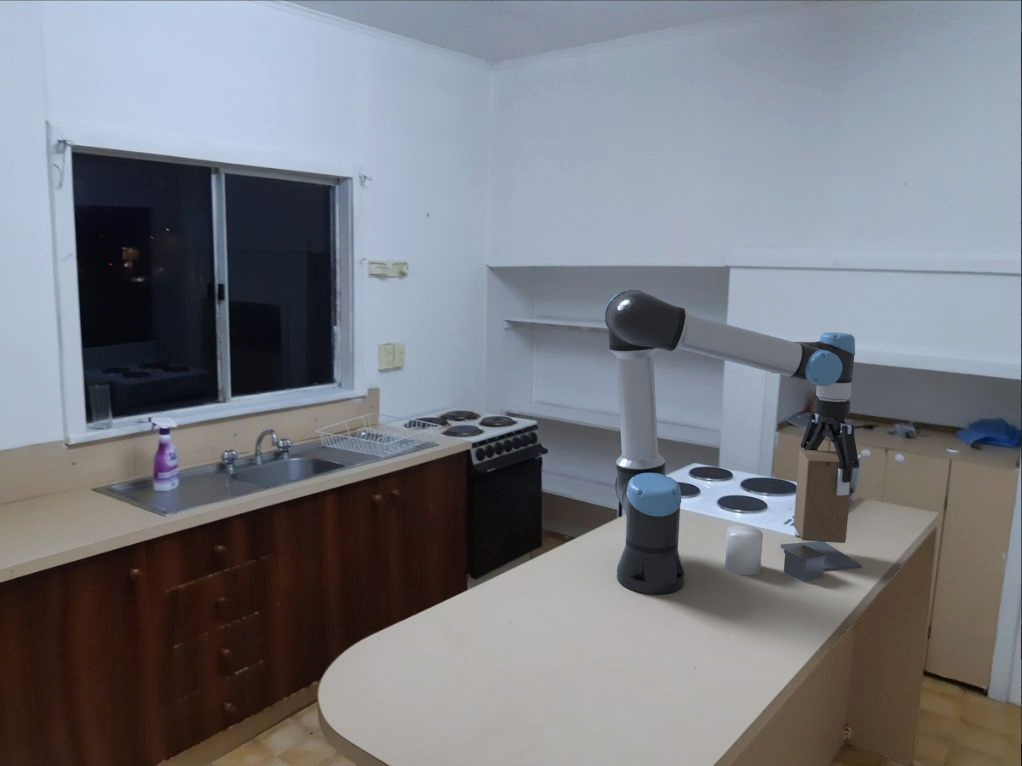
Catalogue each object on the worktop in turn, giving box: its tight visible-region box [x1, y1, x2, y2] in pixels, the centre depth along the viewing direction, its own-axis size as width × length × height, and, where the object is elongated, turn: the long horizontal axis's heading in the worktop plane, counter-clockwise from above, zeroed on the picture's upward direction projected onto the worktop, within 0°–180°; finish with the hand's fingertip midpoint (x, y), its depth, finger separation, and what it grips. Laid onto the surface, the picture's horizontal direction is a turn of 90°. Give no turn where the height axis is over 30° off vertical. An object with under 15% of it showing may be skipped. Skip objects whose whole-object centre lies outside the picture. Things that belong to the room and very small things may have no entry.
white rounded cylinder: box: [724, 525, 764, 576], centre depth 174 cm, size 8×8×9 cm
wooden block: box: [793, 449, 853, 544], centre depth 179 cm, size 10×10×20 cm
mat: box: [780, 541, 862, 572], centre depth 181 cm, size 12×15×1 cm
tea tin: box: [783, 545, 826, 583], centre depth 170 cm, size 6×6×6 cm
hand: (825, 486), depth 178 cm, fingers closed on wooden block, 12 cm apart
